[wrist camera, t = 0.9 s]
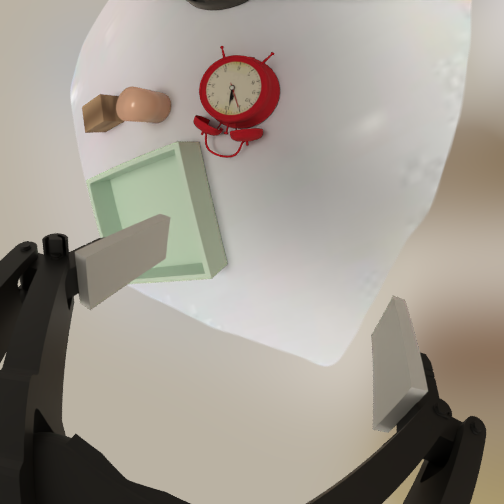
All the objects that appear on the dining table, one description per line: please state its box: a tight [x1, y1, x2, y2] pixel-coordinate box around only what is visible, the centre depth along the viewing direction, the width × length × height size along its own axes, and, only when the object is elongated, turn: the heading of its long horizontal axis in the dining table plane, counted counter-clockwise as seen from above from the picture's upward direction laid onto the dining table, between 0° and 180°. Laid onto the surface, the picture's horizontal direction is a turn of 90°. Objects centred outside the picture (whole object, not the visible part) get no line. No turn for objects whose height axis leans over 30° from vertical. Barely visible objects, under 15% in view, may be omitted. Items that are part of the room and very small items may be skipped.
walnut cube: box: [82, 94, 124, 133], centre depth 39 cm, size 5×5×5 cm
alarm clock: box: [194, 46, 280, 158], centre depth 33 cm, size 10×6×15 cm
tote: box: [86, 142, 228, 284], centre depth 42 cm, size 19×20×6 cm
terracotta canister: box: [116, 87, 171, 123], centre depth 35 cm, size 5×5×7 cm
